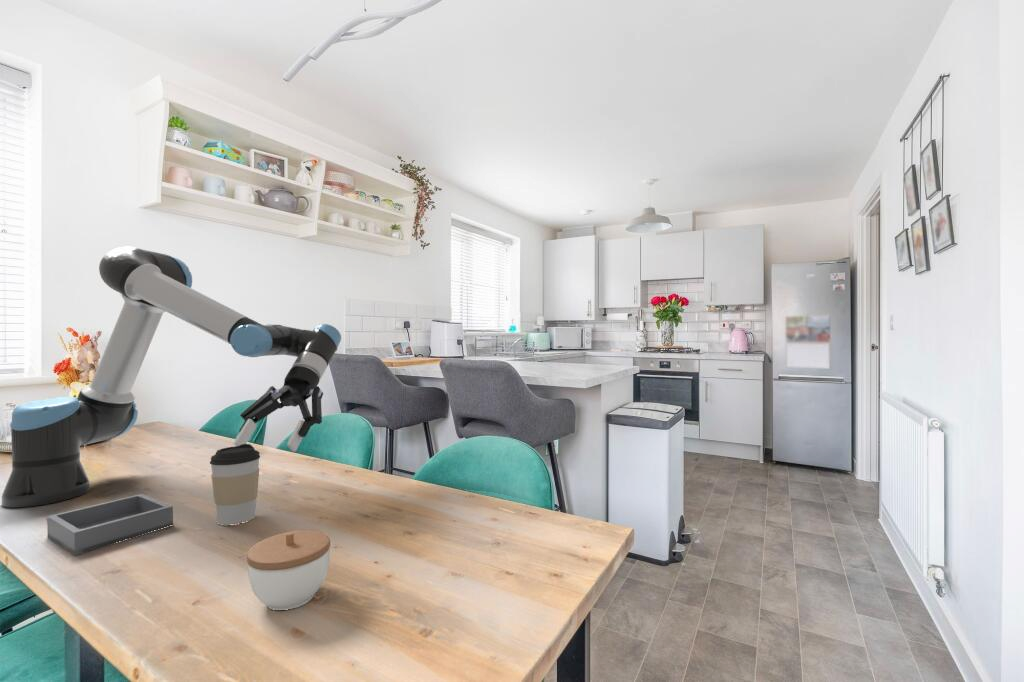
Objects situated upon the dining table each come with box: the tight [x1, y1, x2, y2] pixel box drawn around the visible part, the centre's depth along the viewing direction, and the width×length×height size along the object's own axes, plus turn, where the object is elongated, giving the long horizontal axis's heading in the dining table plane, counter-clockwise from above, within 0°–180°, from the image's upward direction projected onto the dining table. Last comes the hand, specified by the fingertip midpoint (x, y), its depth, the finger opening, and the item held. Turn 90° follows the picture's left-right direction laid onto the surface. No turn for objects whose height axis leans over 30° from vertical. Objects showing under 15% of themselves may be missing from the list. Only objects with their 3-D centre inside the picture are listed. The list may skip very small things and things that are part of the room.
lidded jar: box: [246, 529, 331, 611], centre depth 67 cm, size 11×11×9 cm
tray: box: [46, 493, 174, 556], centre depth 92 cm, size 15×15×4 cm
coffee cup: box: [209, 443, 261, 525], centre depth 97 cm, size 9×9×15 cm
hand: (264, 447), depth 104 cm, fingers open, 13 cm apart
